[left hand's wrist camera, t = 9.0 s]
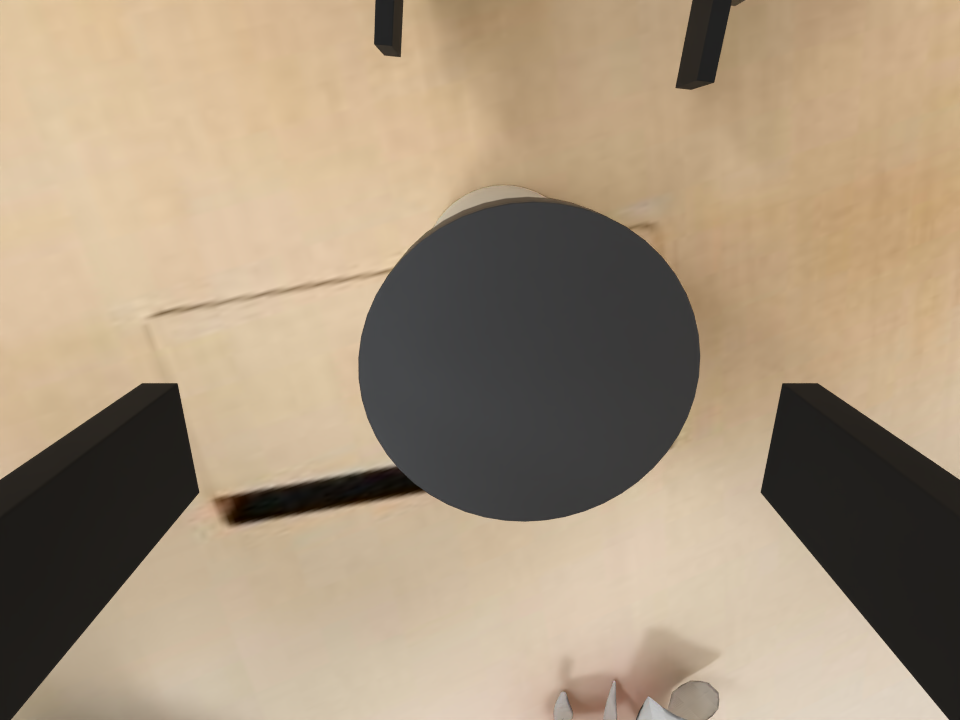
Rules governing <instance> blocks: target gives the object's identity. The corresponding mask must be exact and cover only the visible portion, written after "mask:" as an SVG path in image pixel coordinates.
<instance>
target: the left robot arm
mask: <svg viewBox="0 0 960 720" xmlns="http://www.w3.org/2000/svg"><path fill="white" fill-rule="evenodd" d="M198 493H199V489H198V484H197V479H196V474H195V469H194V464H193V459H192V454H191V449H190V444H189V439H188V434H187V429H186V424H185V419H184V414H183V409H182V404H181V399H180V394H179V389H178V384H177V383H142V384H141V385H139V386H138V387H136V388H135V389H133V390H132V391H130V392H129V393H127V394H126V395H124V396H123V397H121V398H120V399H118V400H117V401H116V402H114V403H113V404H111V405H110V406H108V407H107V408H105V409H104V410H102V411H101V412H99V413H98V414H96V415H95V416H93V417H92V418H91V419H89V420H88V421H86V422H85V423H83V424H82V425H80V426H79V427H77V428H76V429H74V430H73V431H71V432H70V433H68V434H67V435H65V436H64V437H63V438H61V439H60V440H58V441H57V442H55V443H54V444H52V445H51V446H49V447H48V448H46V449H45V450H43V451H42V452H40V453H39V454H38V455H36V456H35V457H33V458H32V459H30V460H29V461H27V462H26V463H24V464H23V465H21V466H20V467H18V468H17V469H15V470H14V471H13V472H11V473H10V474H8V475H7V476H5V477H4V478H2V479H1V480H0V720H11V719H12V718H13V717H14V715H15V714H16V713H17V712H18V711H19V709H20V708H21V707H22V706H23V704H24V703H25V702H26V701H27V700H28V698H29V697H30V696H31V695H32V694H33V692H34V691H35V690H36V689H37V688H38V686H39V685H40V684H41V683H42V682H43V680H44V679H45V678H46V677H47V676H48V674H49V673H50V672H51V671H52V669H53V668H54V667H55V666H56V665H57V663H58V662H59V661H60V660H61V659H62V657H63V656H64V655H65V654H66V653H67V651H68V650H69V649H70V648H71V647H72V645H73V644H74V643H75V642H76V641H77V639H78V638H79V637H80V636H81V635H82V633H83V632H84V631H85V630H86V628H87V627H88V626H89V625H90V624H91V622H92V621H93V620H94V619H95V618H96V616H97V615H98V614H99V613H100V612H101V610H102V609H103V608H104V607H105V606H106V604H107V603H108V602H109V601H110V600H111V598H112V597H113V596H114V595H115V594H116V592H117V591H118V590H119V589H120V587H121V586H122V585H123V584H124V583H125V581H126V580H127V579H128V578H129V577H130V575H131V574H132V573H133V572H134V571H135V569H136V568H137V567H138V566H139V565H140V563H141V562H142V561H143V560H144V559H145V557H146V556H147V555H148V554H149V552H150V551H151V550H152V549H153V548H154V546H155V545H156V544H157V543H158V542H159V540H160V539H161V538H162V537H163V536H164V534H165V533H166V532H167V531H168V530H169V528H170V527H171V526H172V525H173V524H174V522H175V521H176V520H177V519H178V518H179V516H180V515H181V514H182V513H183V511H184V510H185V509H186V508H187V507H188V505H189V504H190V503H191V502H192V501H193V499H194V498H195V497H196V496H197V495H198ZM761 493H762V495H763V496H764V497H765V498H766V499H767V501H768V502H769V503H770V504H771V505H772V507H773V508H774V509H775V510H776V511H777V513H778V514H779V515H780V516H781V518H782V519H783V520H784V521H785V522H786V524H787V525H788V526H789V527H790V528H791V530H792V531H793V532H794V533H795V534H796V536H797V537H798V538H799V539H800V540H801V542H802V543H803V544H804V545H805V546H806V548H807V549H808V550H809V551H810V552H811V554H812V555H813V556H814V557H815V559H816V560H817V561H818V562H819V563H820V565H821V566H822V567H823V568H824V569H825V571H826V572H827V573H828V574H829V575H830V577H831V578H832V579H833V580H834V581H835V583H836V584H837V585H838V586H839V587H840V589H841V590H842V591H843V592H844V594H845V595H846V596H847V597H848V598H849V600H850V601H851V602H852V603H853V604H854V606H855V607H856V608H857V609H858V610H859V612H860V613H861V614H862V615H863V616H864V618H865V619H866V620H867V621H868V622H869V624H870V625H871V626H872V627H873V628H874V630H875V631H876V632H877V633H878V635H879V636H880V637H881V638H882V639H883V641H884V642H885V643H886V644H887V645H888V647H889V648H890V649H891V650H892V651H893V653H894V654H895V655H896V656H897V657H898V659H899V660H900V661H901V662H902V663H903V665H904V666H905V667H906V668H907V669H908V671H909V672H910V673H911V674H912V676H913V677H914V678H915V679H916V680H917V682H918V683H919V684H920V685H921V686H922V688H923V689H924V690H925V691H926V692H927V694H928V695H929V696H930V697H931V698H932V700H933V701H934V702H935V703H936V704H937V706H938V707H939V708H940V709H941V711H942V712H943V713H944V714H945V715H946V717H947V718H948V719H949V720H960V480H959V479H958V478H956V477H955V476H953V475H952V474H950V473H949V472H947V471H946V470H945V469H943V468H942V467H940V466H939V465H937V464H936V463H934V462H933V461H931V460H930V459H928V458H927V457H925V456H924V455H922V454H921V453H920V452H918V451H917V450H915V449H914V448H912V447H911V446H909V445H908V444H906V443H905V442H903V441H902V440H900V439H899V438H897V437H896V436H895V435H893V434H892V433H890V432H889V431H887V430H886V429H884V428H883V427H881V426H880V425H878V424H877V423H875V422H874V421H872V420H871V419H869V418H868V417H867V416H865V415H864V414H862V413H861V412H859V411H858V410H856V409H855V408H853V407H852V406H850V405H849V404H847V403H846V402H844V401H843V400H842V399H840V398H839V397H837V396H836V395H834V394H833V393H831V392H830V391H828V390H827V389H825V388H824V387H822V386H821V385H819V384H818V383H783V384H782V389H781V394H780V399H779V404H778V409H777V414H776V419H775V424H774V429H773V434H772V439H771V444H770V449H769V454H768V459H767V464H766V469H765V474H764V479H763V484H762V489H761Z"/></svg>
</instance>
